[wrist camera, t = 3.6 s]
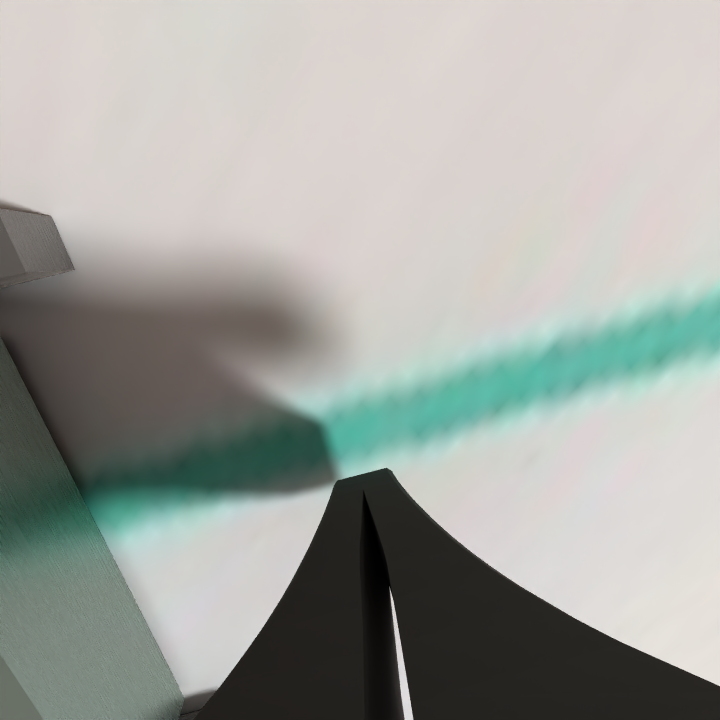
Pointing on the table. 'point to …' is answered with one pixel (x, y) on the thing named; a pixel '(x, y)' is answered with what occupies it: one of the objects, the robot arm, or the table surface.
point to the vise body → (34, 260)
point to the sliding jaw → (64, 591)
